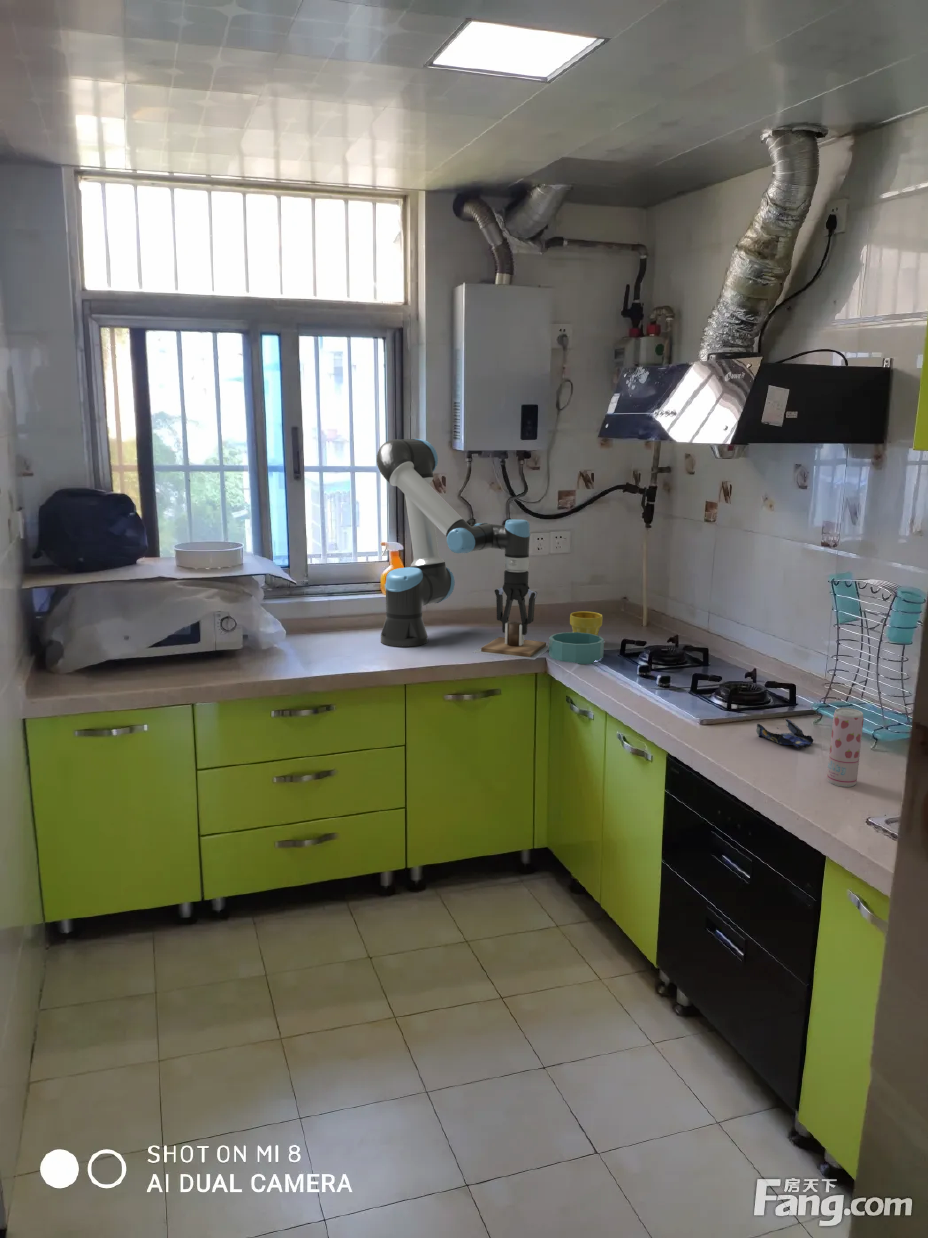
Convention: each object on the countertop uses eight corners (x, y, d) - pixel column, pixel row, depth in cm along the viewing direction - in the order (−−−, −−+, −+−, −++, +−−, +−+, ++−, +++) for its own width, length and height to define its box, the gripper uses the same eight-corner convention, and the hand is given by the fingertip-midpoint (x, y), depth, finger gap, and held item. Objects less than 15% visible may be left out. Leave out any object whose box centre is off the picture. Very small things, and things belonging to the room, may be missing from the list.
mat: (472, 653, 288) (472, 652, 288) (495, 640, 306) (495, 638, 306) (534, 661, 281) (534, 659, 281) (554, 646, 299) (554, 645, 299)
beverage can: (820, 780, 191) (828, 710, 188) (837, 774, 195) (844, 705, 191) (845, 789, 187) (853, 718, 184) (862, 783, 190) (870, 713, 187)
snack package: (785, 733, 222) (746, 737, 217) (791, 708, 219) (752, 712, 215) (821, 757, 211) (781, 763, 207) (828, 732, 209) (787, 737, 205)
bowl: (542, 660, 282) (543, 641, 281) (558, 648, 296) (559, 630, 295) (594, 666, 276) (595, 646, 275) (607, 654, 290) (608, 635, 289)
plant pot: (591, 649, 296) (592, 619, 294) (563, 644, 302) (564, 614, 300) (606, 643, 304) (608, 614, 302) (579, 638, 310) (580, 609, 308)
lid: (481, 651, 289) (481, 625, 287) (499, 640, 304) (499, 615, 302) (530, 657, 283) (531, 630, 281) (546, 645, 298) (547, 620, 296)
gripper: (486, 569, 288) (484, 643, 293) (539, 574, 282) (536, 649, 287) (494, 566, 295) (493, 638, 300) (546, 570, 288) (543, 644, 293)
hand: (514, 643), depth 293 cm, fingers closed on lid, 4 cm apart
